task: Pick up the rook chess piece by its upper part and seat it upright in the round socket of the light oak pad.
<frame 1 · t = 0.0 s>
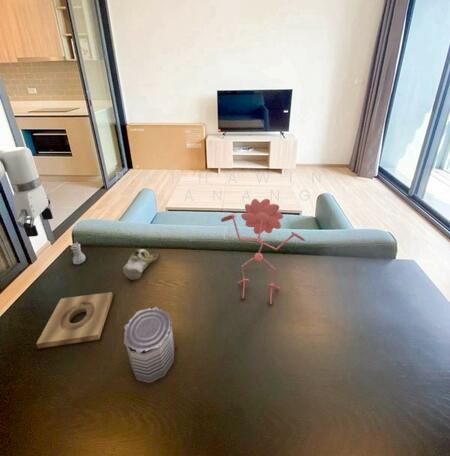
hand: (41, 227, 87), 19 cm above the table, tool pointing down, fingers open, 9 cm apart
figurine: (259, 284, 86), on the table
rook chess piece: (79, 261, 98), on the table
can: (153, 357, 65), on the table
ceramic sculpture: (140, 268, 94), on the table
pad: (79, 319, 75), on the table
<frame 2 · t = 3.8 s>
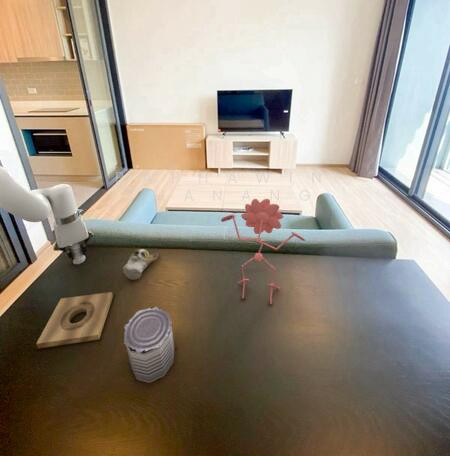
hand: (78, 255, 97), 3 cm above the table, tool pointing down, fingers closed on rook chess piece, 3 cm apart
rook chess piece: (79, 261, 98), on the table, touching gripper
everything else where it was.
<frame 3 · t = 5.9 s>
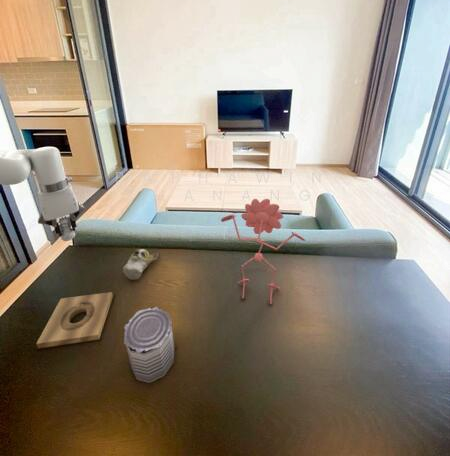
hand: (66, 231, 85), 19 cm above the table, tool pointing down, fingers closed on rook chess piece, 3 cm apart
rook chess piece: (68, 237, 86), point 16 cm above the table, touching gripper
everything else where it was.
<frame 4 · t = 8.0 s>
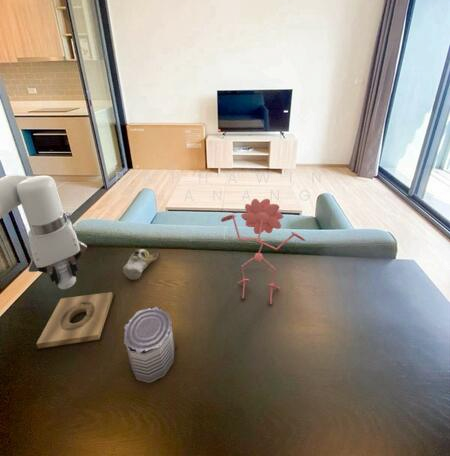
hand: (65, 276, 69), 17 cm above the table, tool pointing down, fingers closed on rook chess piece, 3 cm apart
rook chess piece: (68, 284, 70), point 14 cm above the table, touching gripper
everything else where it was.
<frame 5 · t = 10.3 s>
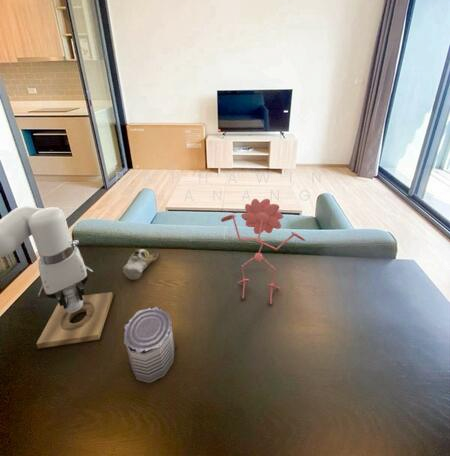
hand: (73, 300, 72), 8 cm above the table, tool pointing down, fingers closed on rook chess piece, 3 cm apart
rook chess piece: (75, 307, 73), point 5 cm above the table, touching gripper
everything else where it was.
when the fingers open (3 cm above the table, at t = 12.1 s): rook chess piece stays where it is, resting in pad.
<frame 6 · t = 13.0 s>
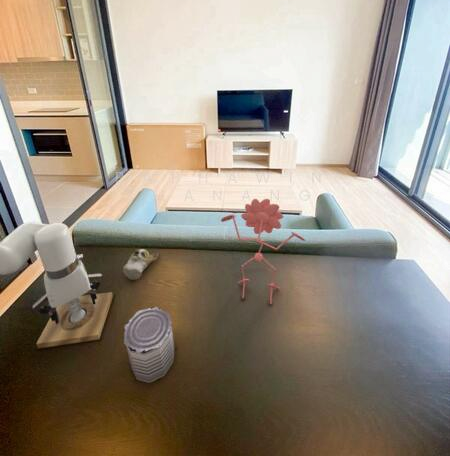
hand: (76, 310, 73), 4 cm above the table, tool pointing down, fingers open, 9 cm apart
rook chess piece: (79, 320, 75), resting in pad
everything else where it was.
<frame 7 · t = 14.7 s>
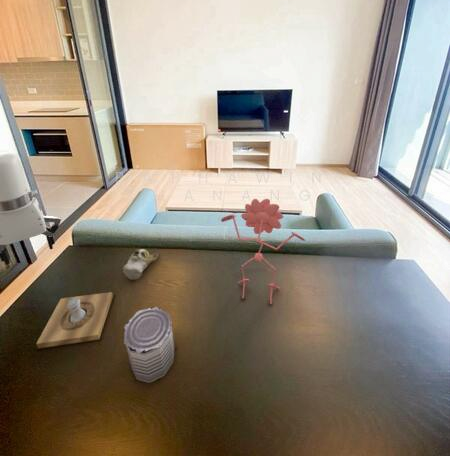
hand: (30, 253, 68), 24 cm above the table, tool pointing down, fingers open, 9 cm apart
nothing on the table moved.
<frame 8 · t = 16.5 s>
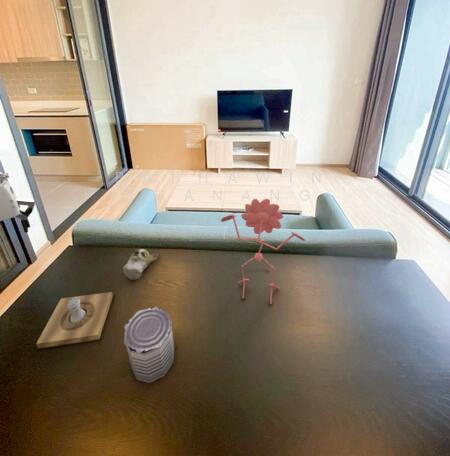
hand: (5, 237, 68), 28 cm above the table, tool pointing down, fingers open, 9 cm apart
nothing on the table moved.
at the end: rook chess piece 0.1 cm off-centre in the pad, point 0.0 cm above the pad's base; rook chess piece tilted 0°; the gripper is holding nothing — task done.
